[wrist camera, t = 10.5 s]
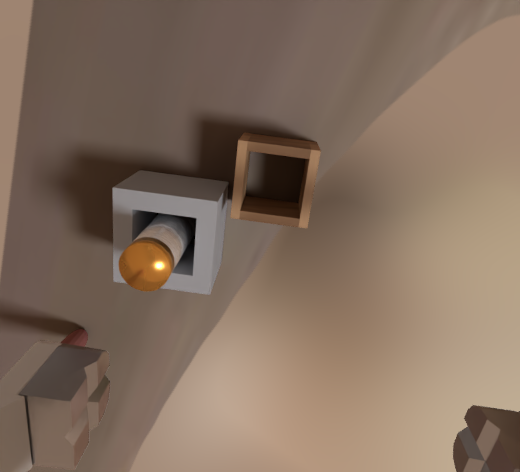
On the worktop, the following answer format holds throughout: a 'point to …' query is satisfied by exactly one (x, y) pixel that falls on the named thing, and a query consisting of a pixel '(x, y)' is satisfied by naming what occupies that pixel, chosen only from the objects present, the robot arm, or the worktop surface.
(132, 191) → the socket
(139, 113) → the worktop surface
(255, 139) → the mount
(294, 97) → the worktop surface
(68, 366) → the robot arm
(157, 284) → the pin
